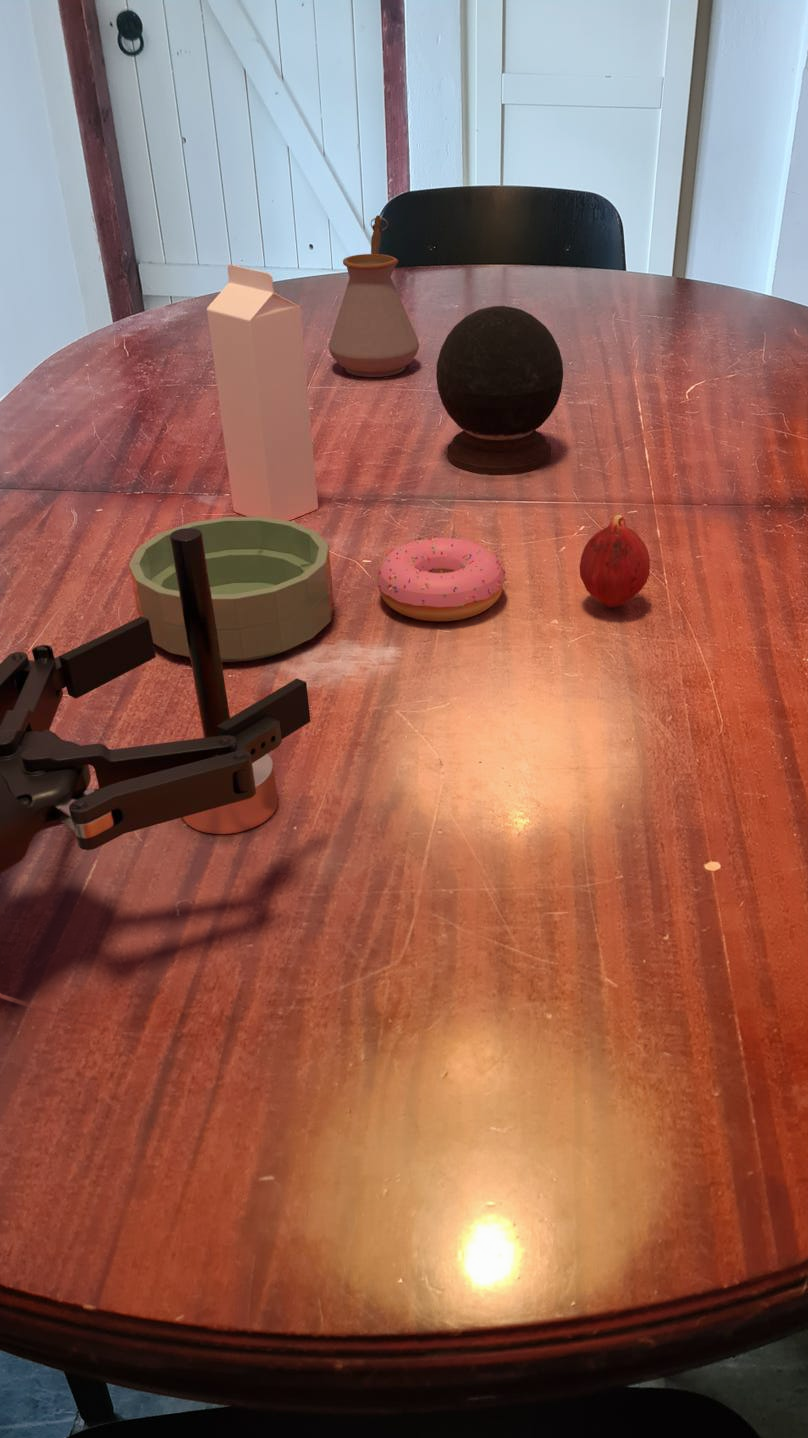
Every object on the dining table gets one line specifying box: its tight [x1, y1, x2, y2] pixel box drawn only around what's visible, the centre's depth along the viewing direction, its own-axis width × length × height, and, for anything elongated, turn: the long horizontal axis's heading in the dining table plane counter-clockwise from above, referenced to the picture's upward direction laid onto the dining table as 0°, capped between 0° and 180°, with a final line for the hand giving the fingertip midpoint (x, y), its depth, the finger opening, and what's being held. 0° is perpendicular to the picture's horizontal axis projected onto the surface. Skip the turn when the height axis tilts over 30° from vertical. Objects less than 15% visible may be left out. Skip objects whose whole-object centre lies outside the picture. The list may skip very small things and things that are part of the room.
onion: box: [579, 514, 651, 609], centre depth 102 cm, size 6×6×8 cm
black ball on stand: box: [435, 305, 564, 476], centre depth 128 cm, size 13×13×15 cm
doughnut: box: [374, 535, 507, 622], centre depth 104 cm, size 11×11×4 cm
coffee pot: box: [328, 215, 420, 378], centre depth 157 cm, size 21×12×15 cm, turn 179°
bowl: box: [128, 516, 335, 663], centre depth 101 cm, size 16×16×6 cm
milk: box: [206, 264, 319, 521], centre depth 115 cm, size 6×6×22 cm
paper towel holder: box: [170, 528, 279, 835], centre depth 76 cm, size 6×6×19 cm
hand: (223, 666), depth 77 cm, fingers open, 13 cm apart
